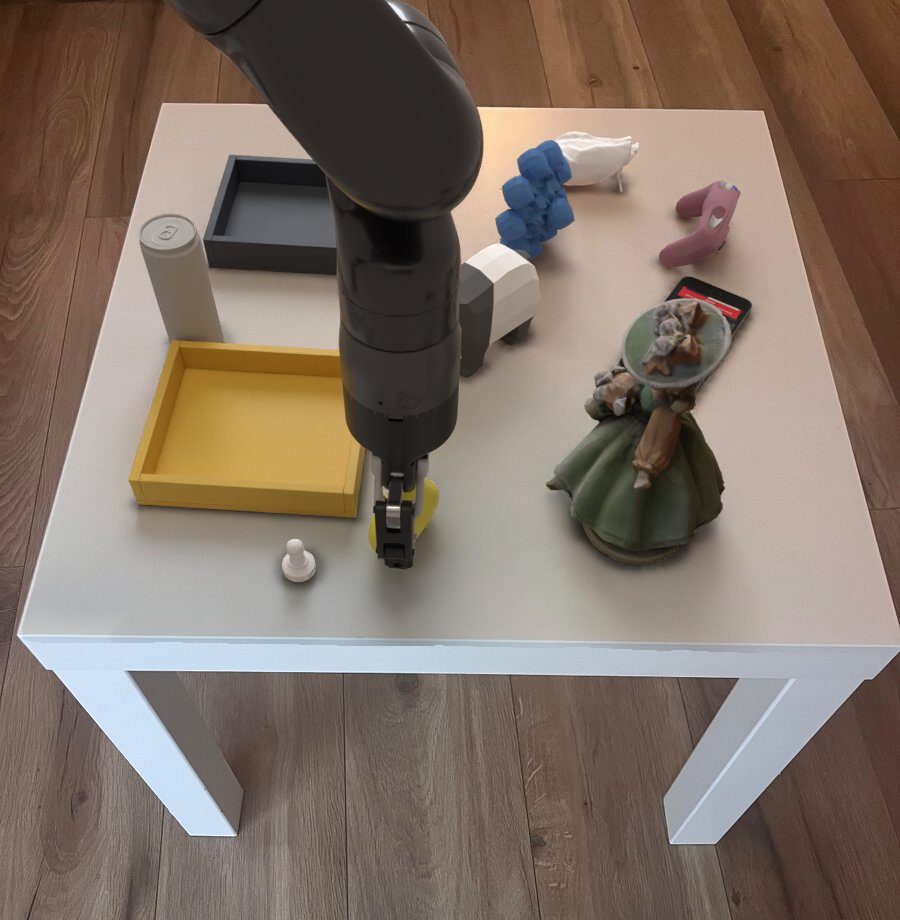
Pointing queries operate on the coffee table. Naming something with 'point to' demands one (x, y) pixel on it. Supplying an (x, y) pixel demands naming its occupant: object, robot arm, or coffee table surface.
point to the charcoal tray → (272, 217)
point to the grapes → (536, 200)
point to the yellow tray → (249, 432)
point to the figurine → (649, 438)
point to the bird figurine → (595, 157)
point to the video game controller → (703, 224)
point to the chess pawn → (298, 562)
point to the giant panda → (495, 301)
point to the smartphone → (711, 302)
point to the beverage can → (180, 278)
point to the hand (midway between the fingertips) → (403, 522)
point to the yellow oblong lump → (421, 521)
